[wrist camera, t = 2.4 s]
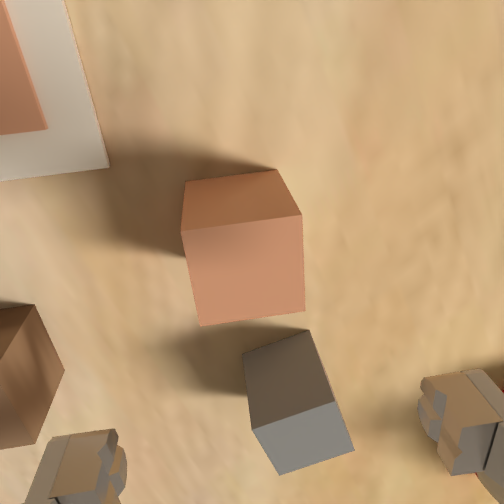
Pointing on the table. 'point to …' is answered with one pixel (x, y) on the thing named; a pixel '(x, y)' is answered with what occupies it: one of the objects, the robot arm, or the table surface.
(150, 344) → the table surface
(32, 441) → the walnut block
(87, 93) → the tile
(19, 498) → the table surface
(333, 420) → the grey block
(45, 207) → the table surface
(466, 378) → the robot arm
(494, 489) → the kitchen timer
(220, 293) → the salmon orange block
